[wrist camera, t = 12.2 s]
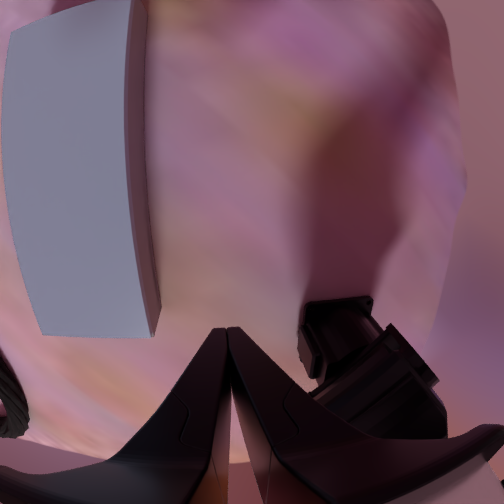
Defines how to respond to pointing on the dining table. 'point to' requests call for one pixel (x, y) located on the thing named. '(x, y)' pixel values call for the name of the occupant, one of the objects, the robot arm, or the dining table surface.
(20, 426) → the cable lock
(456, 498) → the robot arm
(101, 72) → the cover
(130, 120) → the grey tray with bar
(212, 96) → the dining table surface
